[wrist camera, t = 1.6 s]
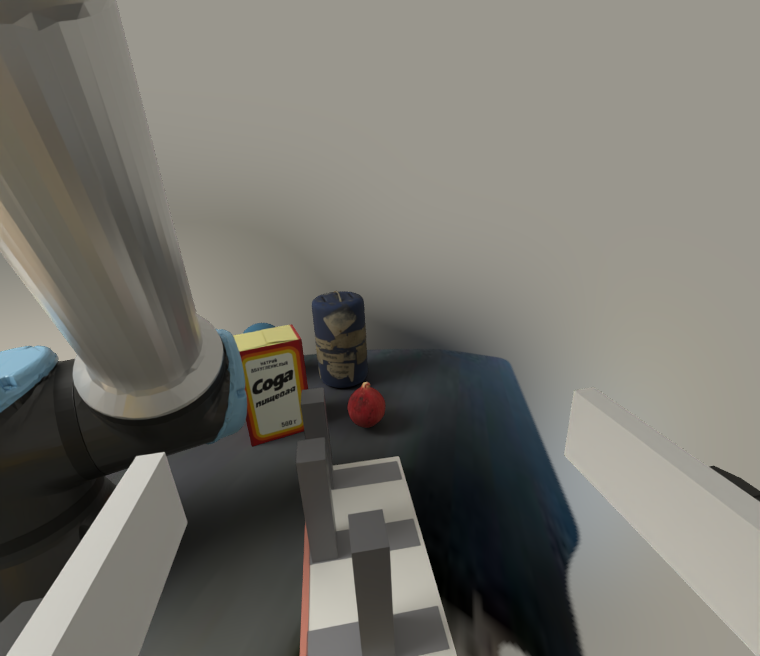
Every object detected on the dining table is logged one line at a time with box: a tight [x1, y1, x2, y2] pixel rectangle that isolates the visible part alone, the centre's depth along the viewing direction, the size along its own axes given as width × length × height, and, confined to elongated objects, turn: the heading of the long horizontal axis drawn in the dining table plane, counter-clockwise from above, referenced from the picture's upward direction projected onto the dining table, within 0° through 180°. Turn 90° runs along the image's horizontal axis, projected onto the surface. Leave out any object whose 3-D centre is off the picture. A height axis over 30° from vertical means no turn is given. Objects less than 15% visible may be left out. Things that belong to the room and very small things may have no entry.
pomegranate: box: [348, 382, 385, 428], centre depth 57 cm, size 6×6×8 cm
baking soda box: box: [233, 325, 308, 446], centre depth 57 cm, size 10×6×16 cm
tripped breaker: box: [348, 509, 395, 656], centre depth 27 cm, size 3×2×12 cm
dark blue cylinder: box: [312, 291, 368, 388], centre depth 70 cm, size 10×10×18 cm
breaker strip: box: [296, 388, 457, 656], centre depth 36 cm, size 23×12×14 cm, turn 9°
